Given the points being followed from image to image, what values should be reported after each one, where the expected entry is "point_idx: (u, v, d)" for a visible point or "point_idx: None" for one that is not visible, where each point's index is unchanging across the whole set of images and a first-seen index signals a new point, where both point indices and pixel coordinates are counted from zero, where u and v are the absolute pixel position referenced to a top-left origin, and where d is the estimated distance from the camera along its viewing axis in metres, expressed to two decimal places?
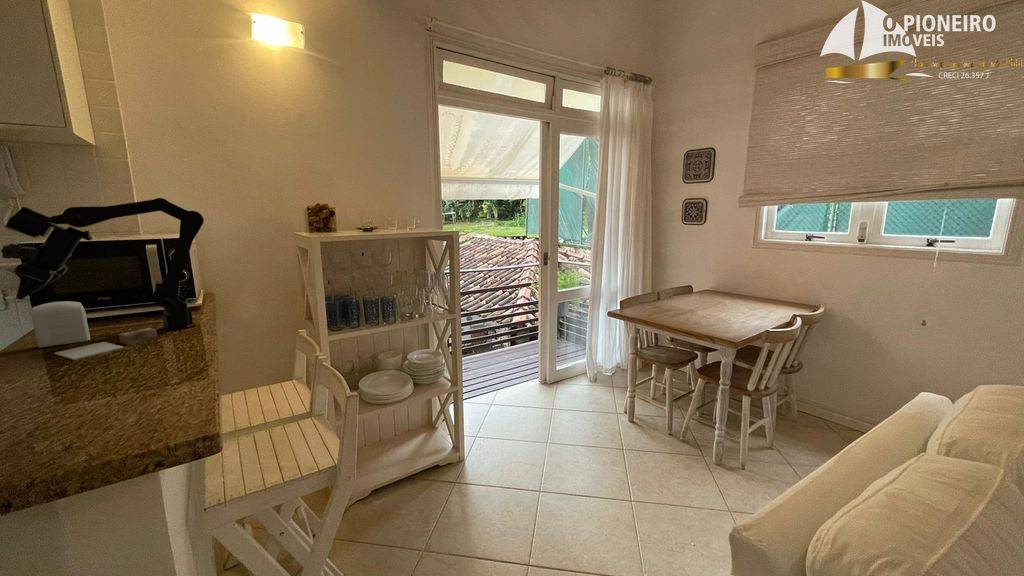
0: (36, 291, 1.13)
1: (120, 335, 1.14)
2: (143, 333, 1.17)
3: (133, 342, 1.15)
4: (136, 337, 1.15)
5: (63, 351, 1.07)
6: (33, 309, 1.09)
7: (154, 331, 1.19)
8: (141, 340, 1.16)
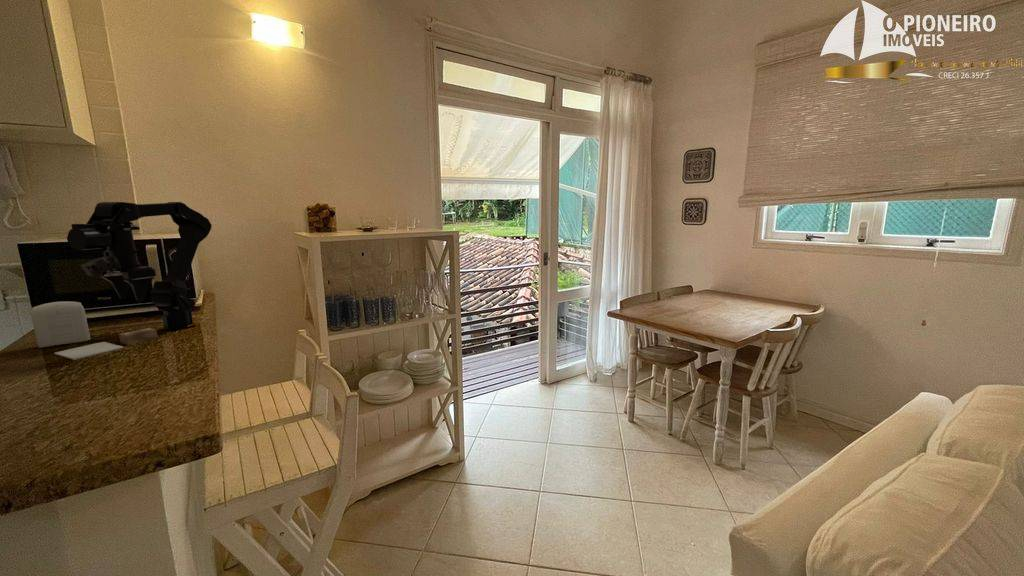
0: (126, 294, 1.18)
1: (120, 335, 1.15)
2: (143, 333, 1.16)
3: (133, 342, 1.14)
4: (136, 337, 1.15)
5: (63, 351, 1.07)
6: (33, 309, 1.09)
7: (154, 331, 1.19)
8: (141, 340, 1.16)
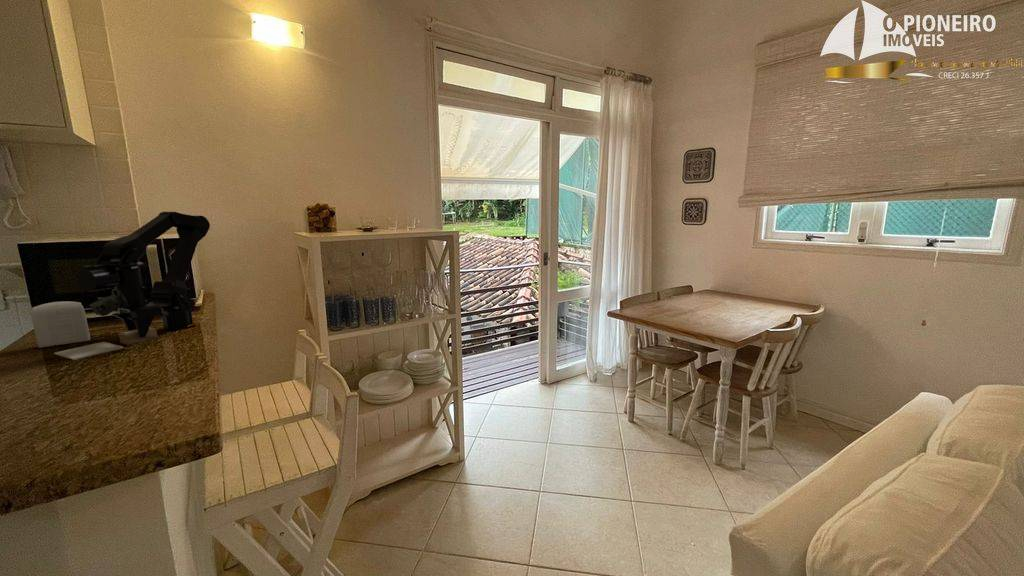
0: None
1: (120, 334, 1.14)
2: None
3: (133, 341, 1.14)
4: (136, 336, 1.15)
5: (63, 351, 1.07)
6: (33, 309, 1.09)
7: (154, 330, 1.19)
8: (141, 339, 1.16)
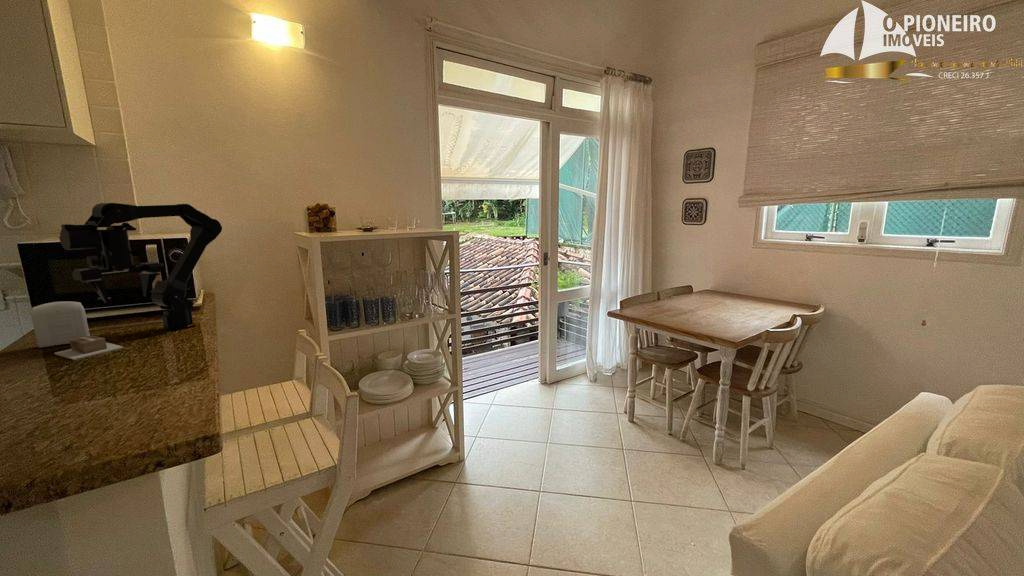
0: (146, 293, 1.21)
1: None
2: (76, 343, 1.06)
3: (73, 348, 1.07)
4: (74, 344, 1.07)
5: (63, 351, 1.07)
6: (33, 309, 1.09)
7: (82, 345, 1.05)
8: (77, 349, 1.06)
